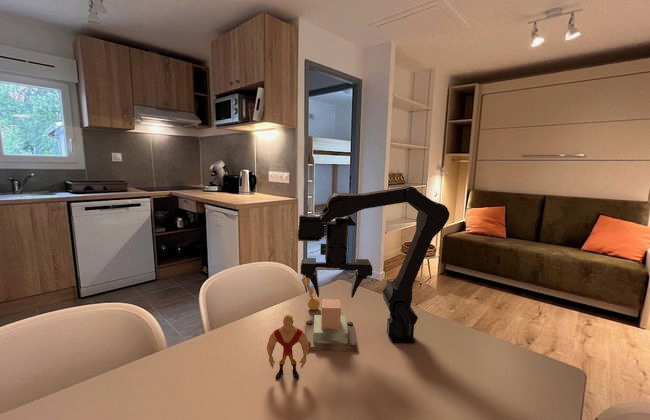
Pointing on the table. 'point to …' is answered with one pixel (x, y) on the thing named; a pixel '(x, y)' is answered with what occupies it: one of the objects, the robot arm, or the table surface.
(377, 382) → the table surface
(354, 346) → the tower base
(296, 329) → the action figure
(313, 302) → the figurine
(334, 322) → the terracotta brick
